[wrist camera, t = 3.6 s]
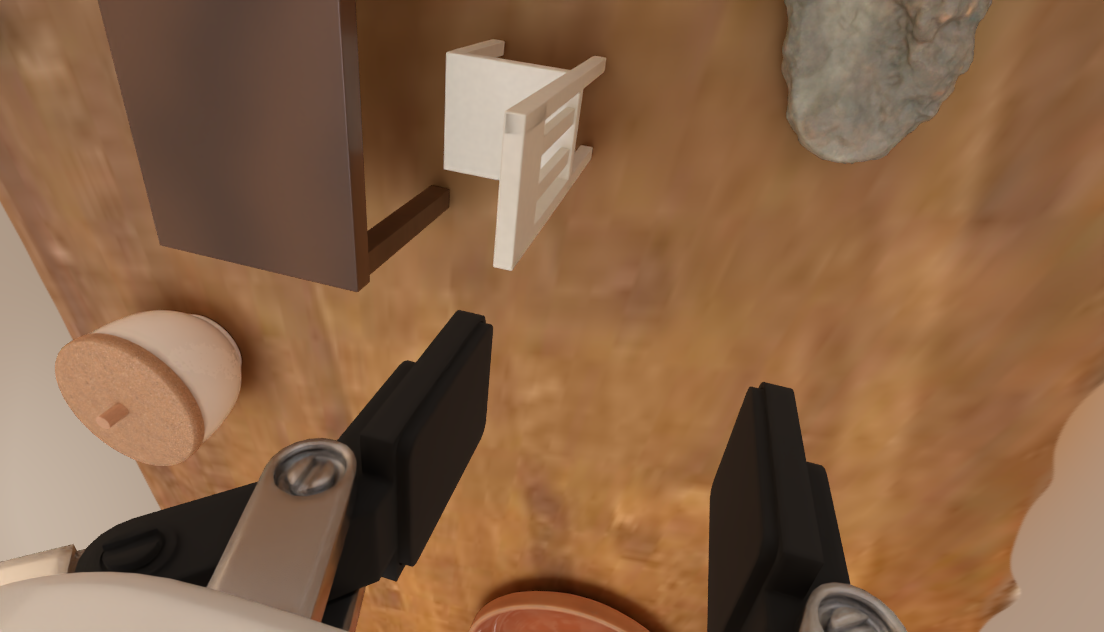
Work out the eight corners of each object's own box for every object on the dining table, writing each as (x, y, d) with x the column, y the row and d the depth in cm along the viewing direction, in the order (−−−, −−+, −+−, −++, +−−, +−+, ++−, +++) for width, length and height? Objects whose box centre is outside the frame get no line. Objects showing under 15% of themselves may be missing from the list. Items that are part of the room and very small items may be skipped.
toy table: (460, -76, 33) (332, -103, 22) (451, 211, 41) (358, 292, 31) (267, -102, 34) (61, -138, 24) (299, 178, 43) (159, 245, 32)
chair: (606, 57, 34) (526, 114, 20) (591, 159, 37) (512, 271, 23) (492, 38, 35) (338, 80, 21) (486, 139, 38) (348, 235, 24)
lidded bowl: (189, 262, 50) (68, 327, 41) (293, 371, 53) (204, 454, 44) (124, 324, 56) (6, 393, 47) (222, 419, 59) (130, 501, 50)
